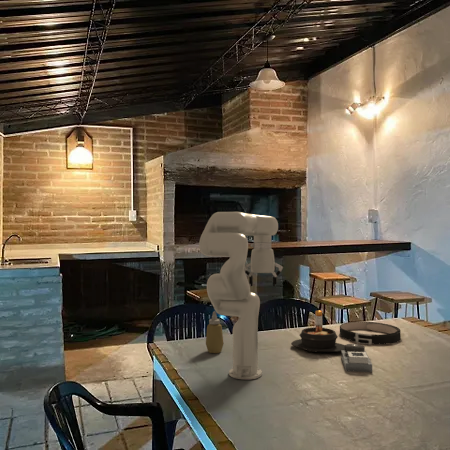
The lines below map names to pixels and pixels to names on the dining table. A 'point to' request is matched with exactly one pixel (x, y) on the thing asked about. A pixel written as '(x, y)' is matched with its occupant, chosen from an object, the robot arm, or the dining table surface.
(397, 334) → the belt
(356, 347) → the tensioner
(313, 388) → the dining table surface
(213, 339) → the squeeze bottle
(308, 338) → the casserole
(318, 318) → the orange and grey cylinder
